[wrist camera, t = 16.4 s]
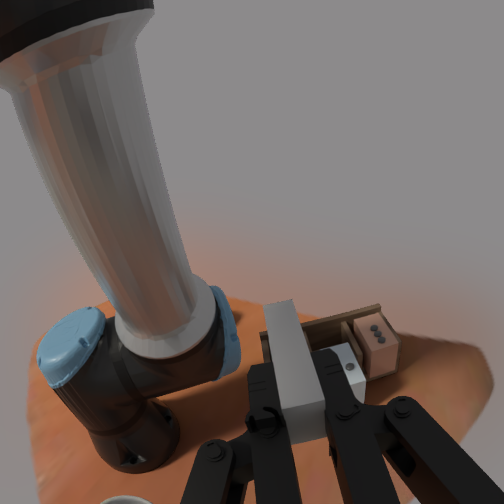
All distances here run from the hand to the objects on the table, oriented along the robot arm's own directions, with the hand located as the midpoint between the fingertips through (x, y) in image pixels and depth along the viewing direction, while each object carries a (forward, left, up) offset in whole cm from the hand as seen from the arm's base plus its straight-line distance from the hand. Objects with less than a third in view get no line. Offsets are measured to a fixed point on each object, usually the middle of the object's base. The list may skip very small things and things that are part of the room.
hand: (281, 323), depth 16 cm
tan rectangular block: (+2, +25, -28) cm, 37 cm away
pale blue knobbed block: (-1, +17, -28) cm, 33 cm away
